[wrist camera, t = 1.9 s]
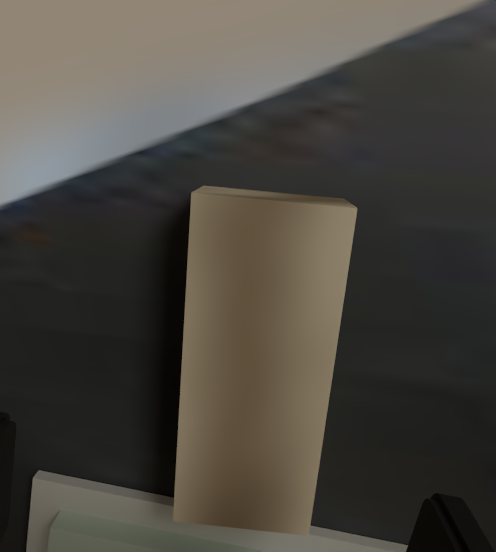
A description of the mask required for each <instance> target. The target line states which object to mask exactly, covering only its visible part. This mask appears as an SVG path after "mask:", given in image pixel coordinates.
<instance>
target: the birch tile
mask: <svg viewBox="0 0 496 552" xmlns="http://www.w3.org/2000/svg"><path fill="white" fill-rule="evenodd" d="M356 214H357V208H356V207H355V206H354V205H352V204H351V203H349V202H348V201H347V200H345V199H339V198H329V197H318V196H307V195H297V194H286V193H276V192H265V191H254V190H244V189H233V188H222V187H212V186H202V187H200V188H199V189H197V190H195V191H193V192H192V193H191V208H190V226H189V244H188V262H187V280H186V297H185V315H184V333H183V351H182V368H181V386H180V404H179V422H178V439H177V457H176V475H175V493H174V510H173V521H177V522H186V523H195V524H204V525H213V526H222V527H231V528H240V529H249V530H258V531H268V532H277V533H286V534H295V535H304V536H309V530H310V523H311V516H312V510H313V503H314V496H315V489H316V483H317V476H318V469H319V463H320V456H321V449H322V443H323V436H324V429H325V422H326V416H327V409H328V402H329V396H330V389H331V382H332V375H333V369H334V362H335V355H336V349H337V342H338V335H339V328H340V322H341V315H342V308H343V302H344V295H345V288H346V281H347V275H348V268H349V261H350V255H351V248H352V241H353V235H354V228H355V221H356Z"/></svg>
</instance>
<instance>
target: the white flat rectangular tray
mask: <svg viewBox="0 0 496 552" xmlns="http://www.w3.org/2000/svg"><path fill="white" fill-rule="evenodd" d="M173 510H174V498H173V497H168V496H163V495H158V494H153V493H148V492H143V491H139V490H134V489H129V488H124V487H119V486H114V485H109V484H104V483H99V482H94V481H89V480H85V479H80V478H75V477H70V476H65V475H60V474H55V473H50V472H45V471H40V470H38V472H37V473H36V474H35V476H34V477H33V482H32V493H31V504H30V515H29V526H28V537H27V548H26V552H406V550H407V547H408V545H404V544H399V543H394V542H389V541H384V540H379V539H374V538H369V537H364V536H359V535H355V534H350V533H345V532H340V531H335V530H330V529H325V528H320V527H315V526H310V530H309V536H304V535H295V534H286V533H277V532H268V531H258V530H249V529H240V528H231V527H222V526H213V525H204V524H195V523H186V522H177V521H173Z"/></svg>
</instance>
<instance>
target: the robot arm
mask: <svg viewBox="0 0 496 552" xmlns="http://www.w3.org/2000/svg"><path fill="white" fill-rule="evenodd" d="M15 437H16V423H15V422H13V421H10V417H9V415H8V414H7V413H3V412H0V541H1V539H2V537H3V535H4V533H5V530H6V528H7V524H8V517H9V505H10V494H11V482H12V471H13V460H14V448H15ZM406 552H494V550H493V549H492V547H491V545H490V543H489V542H488V540H487V538H486V537H485V535H484V533H483V532H482V530H481V528H480V527H479V525H478V523H477V522H476V520H475V518H474V517H473V515H472V513H471V512H470V510H469V508H468V507H467V505H466V503H465V502H464V501H463V499H461V498H459V497H454V496H448V495H443V494H438V493H436V494H434V495H433V496H432V497H431V499H425V500H424V502H423V504H422V507H421V510H420V513H419V516H418V518H417V521H416V524H415V527H414V530H413V533H412V536H411V539H410V542H409V544H408V547H407V550H406Z"/></svg>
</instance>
